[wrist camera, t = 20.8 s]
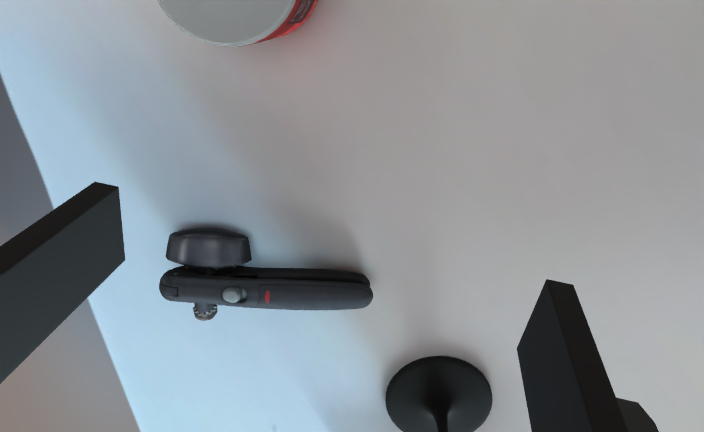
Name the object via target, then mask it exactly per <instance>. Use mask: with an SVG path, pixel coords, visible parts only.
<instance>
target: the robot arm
mask: <svg viewBox="0 0 704 432" xmlns="http://www.w3.org/2000/svg"><path fill="white" fill-rule="evenodd" d="M124 261H125V253H124V242H123V231H122V221H121V210H120V199H119V188H118V187H117V186H112V185H107V184H103V183H98V182H94V183H92V184H91V185H89V186H88V187H87V188H85V189H84V190H82V191H81V192H79V193H78V194H76V195H75V196H73V197H72V198H70V199H69V200H67V201H66V202H65V203H63V204H62V205H60V206H59V207H57V208H56V209H54V210H53V211H51V212H50V213H49V214H47V215H46V216H44V217H43V218H41V219H40V220H38V221H37V222H35V223H34V224H32V225H31V226H29V227H28V228H27V229H25V230H24V231H22V232H21V233H19V234H18V235H16V236H15V237H13V238H12V239H10V240H9V241H8V242H6V243H5V244H3V245H2V246H0V384H1V383H2V382H3V381H4V380H5V379H6V377H7V376H9V375H10V374H11V373H12V372H13V371H14V370H15V369H16V368H17V367H18V366H19V365H20V364H21V363H22V362H23V361H24V360H25V359H26V358H27V357H28V356H29V355H30V354H31V353H32V352H33V351H34V350H35V349H36V348H37V347H38V346H39V345H40V344H41V343H42V342H43V341H44V340H45V339H46V338H47V337H48V336H49V335H50V334H51V333H52V332H53V331H54V330H55V329H56V328H57V327H58V326H59V325H60V324H61V323H62V322H63V321H64V320H65V319H66V318H67V317H68V316H69V315H70V314H71V313H72V312H73V311H74V310H75V309H76V308H77V307H78V306H79V305H80V304H81V303H82V302H83V301H84V300H85V299H86V298H87V297H88V296H89V295H90V294H91V293H92V292H93V291H94V290H95V289H96V288H97V287H98V286H99V285H100V284H101V283H102V282H103V281H104V280H105V279H106V278H107V277H108V276H109V275H110V274H111V273H112V272H113V271H114V270H115V269H116V268H117V267H118V266H119V265H120V264H121V263H122V262H124ZM517 351H518V357H519V363H520V368H521V374H522V379H523V385H524V390H525V396H526V401H527V407H528V413H529V418H530V424H531V429H532V432H659V431H658V429H657V427H656V425H655V423H654V421H653V420H652V419H651V418H650V417H649V415H648V414H647V413H646V412H645V411H644V409H643V408H642V407H641V406H640V405H639V403H637V402H633V401H628V400H624V399H620V398H616V397H615V394H614V392H613V389H612V386H611V384H610V381H609V378H608V376H607V373H606V371H605V368H604V365H603V363H602V360H601V357H600V355H599V352H598V349H597V347H596V344H595V341H594V339H593V336H592V333H591V331H590V328H589V326H588V323H587V320H586V318H585V315H584V312H583V310H582V307H581V304H580V302H579V299H578V296H577V294H576V291H575V289H574V286H573V285H571V284H567V283H562V282H557V281H553V280H548V279H546V282H545V284H544V286H543V289H542V291H541V293H540V296H539V298H538V300H537V303H536V305H535V307H534V310H533V312H532V314H531V317H530V319H529V321H528V324H527V326H526V328H525V331H524V333H523V335H522V338H521V340H520V342H519V345H518V347H517Z"/></svg>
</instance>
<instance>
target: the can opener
mask: <svg viewBox="0 0 704 432" xmlns="http://www.w3.org/2000/svg"><path fill="white" fill-rule="evenodd" d="M166 258H167V259H168V260H170V261H172V262H176V263H179V264H183V265H184V266H180V267H176V268H173V269H172V270H169V271H167V272H166V273H165V274H164V275H163V276H162V278H161V279H160V284H159V289H160V293H161V294H162V296H163V297H164V298H165V299H167V300H169V301H177V302H189V303H195V307H193V309H194V314H195V317H196V318H197V319H198V320H202V321H206V320H210V319H212V318H213V317H214V316H215V315H216V313H217V305H226V306H237V307H250V308H266V309H287V310H343V309H358V308H364V307H366V306H368V305H369V304H370V302H371V301H372V299H373V292H372V290H371V288H370V282H369V280H368V278H367V277H366V276H365V275H363V274H360V273H355V272H347V271H339V270H327V269H308V268H256V267H245V266H239V264H244V263H247V262H249V261H251V260H252V258H251V252H250V246H249V241H248V237H246V236H245V235H242V234H239V233H236V232H231V231H227V230H222V229H211V228H200V229H189V230H182V231H178V232H174V233H172V234H171V235H170V236H169V241H168V245H167V251H166Z"/></svg>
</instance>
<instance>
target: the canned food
mask: <svg viewBox="0 0 704 432" xmlns="http://www.w3.org/2000/svg"><path fill="white" fill-rule="evenodd" d="M158 2H159V4H160V6H161V8H162V9H163V11H164V12H165V13H166V14H167V16H168V17H169V18H170V20H171V21H172V22H173V23H174V24H176V25H177V26H178V27H179V28H180V29H181V30H182V31H184V32H185V33H187V34H188V35H190V36H192V37H193V38H195V39H197V40H200V41H203V42H205V43H208V44H212V45H218V46H224V47H239V46H245V45H250V44H254V43H258V42H262V41H265V40H269V39H272V38H276V37H280V36H283V35H286V34H288V33H290V32H292V31H294V30H295V29H297V28H298V27H299V26H301V25H302V24H303V23H304V22H305V21H306V19H307V18H308V17H309V16H310V14H311V13H312V11H313V9H314V8H315V6H316V3H317V0H158Z"/></svg>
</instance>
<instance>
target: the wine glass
mask: <svg viewBox="0 0 704 432" xmlns="http://www.w3.org/2000/svg"><path fill="white" fill-rule="evenodd" d="M491 406H492V392H491V389H490V385H489V383H488V381H487V379H486V378H485V376H484V375H483V374H482V373H481V372H480V371H479V370H478V369H477V368H475V367H474V366H472V365H471V364H469V363H467V362H465V361H462V360H459V359H456V358H451V357H441V356H437V357H428V358H423V359H420V360H417V361H414V362H412V363H410V364H408V365H406V366H405V367H404V368H402V369H401V370H400V371H399V372H398V373H397V374H396V375H395V376H394V377H393V378H392V380H391V381H390V383H389V385H388V387H387V392H386V407H387V411H388V414H389V416H390V418H391V419H392V421H393V422H394V423H395V425H396V426H397V427H398V428H400V429H401V430H402V431H403V432H473V431H475V430H476V429H477V428H479V427H480V426H481V425H482V423H483V422H484V421H485V420H486V418H487V416H488V415H489V413H490V410H491Z"/></svg>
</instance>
